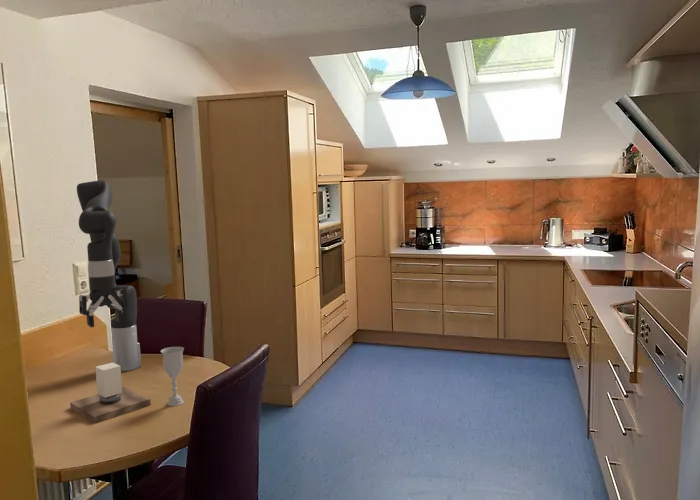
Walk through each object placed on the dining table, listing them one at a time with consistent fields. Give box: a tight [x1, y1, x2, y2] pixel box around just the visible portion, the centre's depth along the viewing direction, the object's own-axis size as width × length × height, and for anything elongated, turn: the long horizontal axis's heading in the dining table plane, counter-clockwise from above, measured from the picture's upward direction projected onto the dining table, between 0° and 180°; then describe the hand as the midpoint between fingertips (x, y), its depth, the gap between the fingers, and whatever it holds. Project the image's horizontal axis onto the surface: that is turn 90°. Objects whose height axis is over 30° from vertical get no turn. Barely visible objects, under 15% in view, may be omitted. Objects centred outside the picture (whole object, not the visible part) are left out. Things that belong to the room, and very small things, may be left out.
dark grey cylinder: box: [99, 393, 121, 404], centre depth 175 cm, size 6×6×10 cm
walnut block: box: [69, 386, 151, 424], centre depth 176 cm, size 18×18×2 cm
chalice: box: [160, 346, 185, 407], centre depth 177 cm, size 7×7×18 cm
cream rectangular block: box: [94, 362, 123, 398], centre depth 175 cm, size 6×6×9 cm
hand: (105, 324), depth 173 cm, fingers open, 8 cm apart
